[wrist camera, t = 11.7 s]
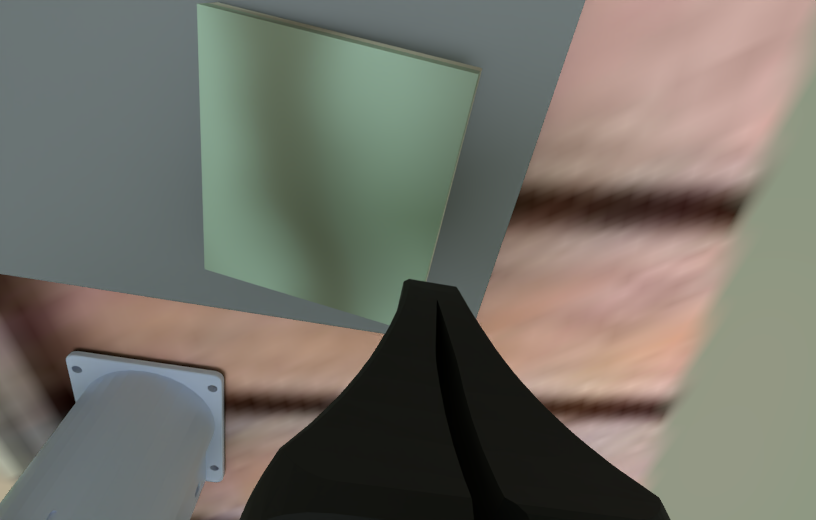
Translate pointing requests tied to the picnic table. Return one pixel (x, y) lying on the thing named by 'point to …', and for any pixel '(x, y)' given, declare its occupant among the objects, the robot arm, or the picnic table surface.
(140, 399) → the robot arm
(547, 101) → the board
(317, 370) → the picnic table surface
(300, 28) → the tile
